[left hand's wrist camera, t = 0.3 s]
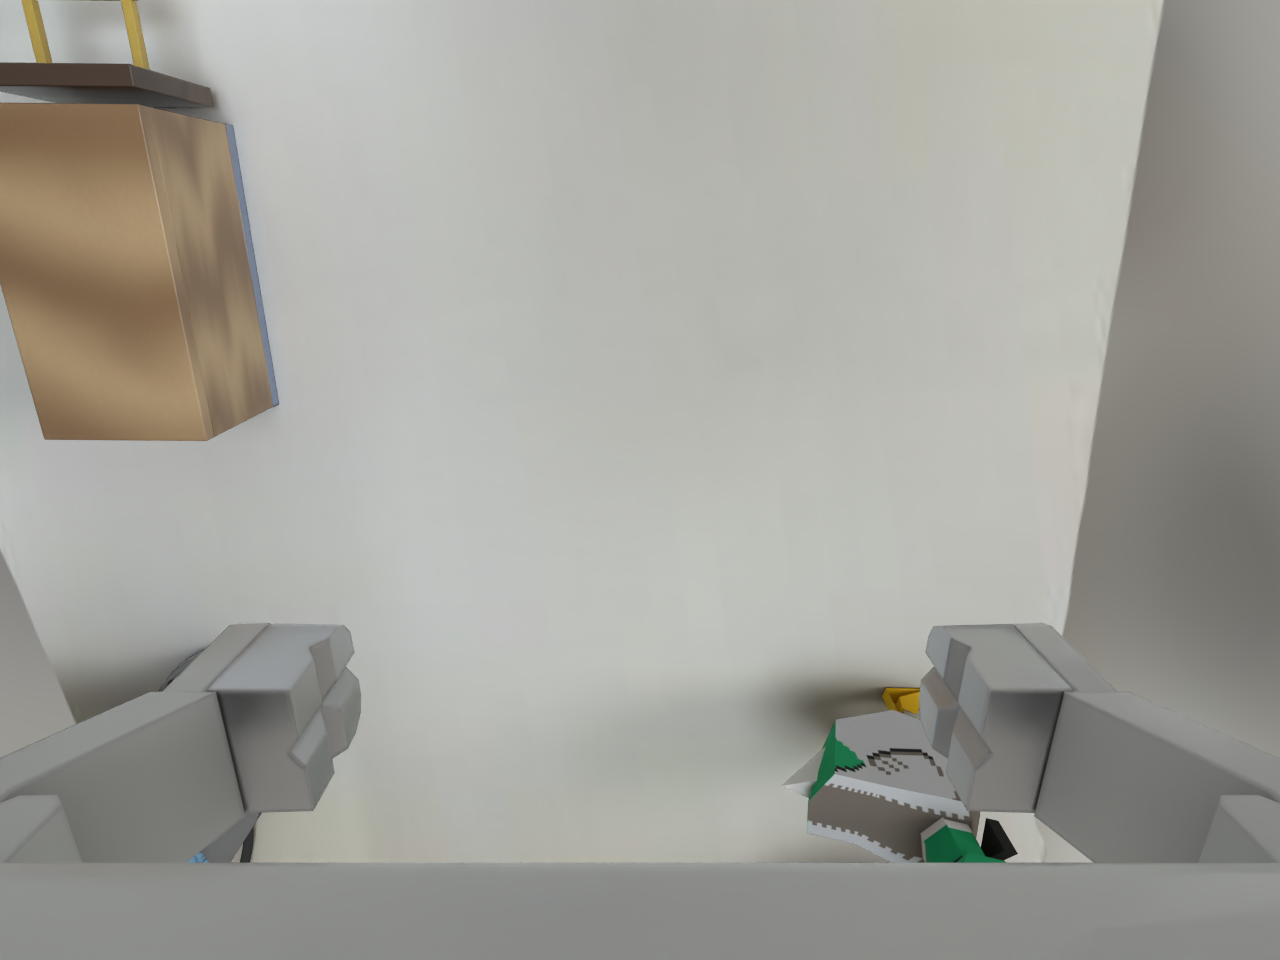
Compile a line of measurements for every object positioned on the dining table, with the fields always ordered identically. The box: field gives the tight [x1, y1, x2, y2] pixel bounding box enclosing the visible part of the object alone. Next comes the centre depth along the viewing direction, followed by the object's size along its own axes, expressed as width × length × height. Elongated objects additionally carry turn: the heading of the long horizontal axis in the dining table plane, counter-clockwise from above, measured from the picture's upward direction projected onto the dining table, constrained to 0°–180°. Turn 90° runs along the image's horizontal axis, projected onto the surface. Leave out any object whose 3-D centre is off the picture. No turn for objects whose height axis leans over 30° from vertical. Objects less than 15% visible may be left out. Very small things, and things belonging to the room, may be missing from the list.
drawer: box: [0, 0, 213, 108], centre depth 48 cm, size 24×10×8 cm, turn 179°
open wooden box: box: [0, 103, 279, 441], centre depth 49 cm, size 20×11×10 cm, turn 179°
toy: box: [782, 688, 1018, 863], centre depth 56 cm, size 8×20×24 cm, turn 74°
